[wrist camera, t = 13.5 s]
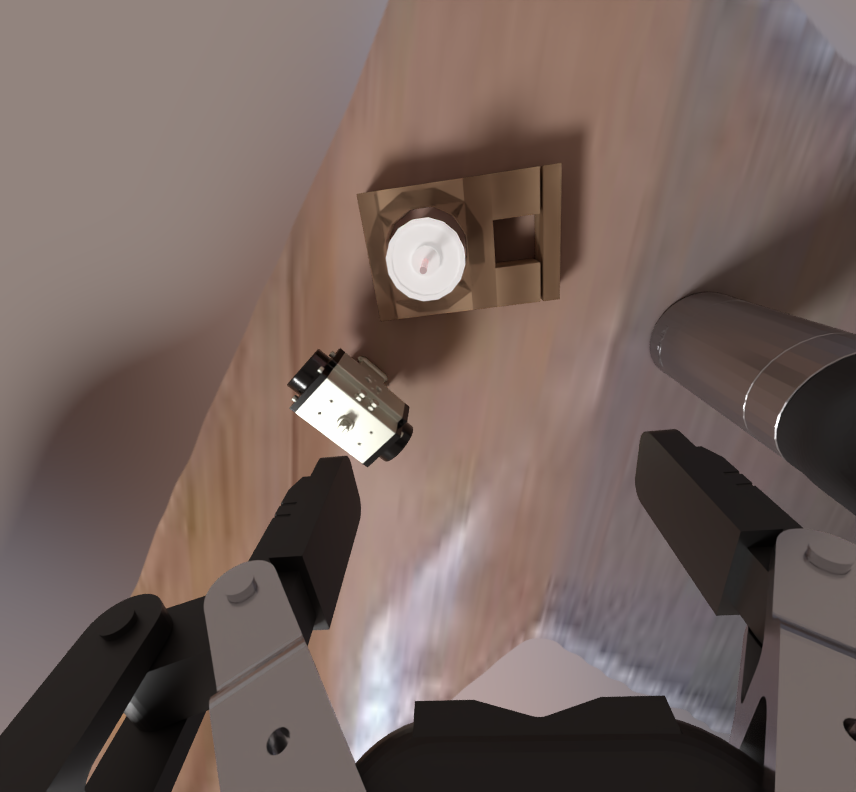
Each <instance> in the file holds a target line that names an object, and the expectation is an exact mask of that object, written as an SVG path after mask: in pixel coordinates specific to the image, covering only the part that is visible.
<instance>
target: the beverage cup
mask: <svg viewBox="0 0 856 792" xmlns="http://www.w3.org/2000/svg"><path fill="white" fill-rule="evenodd" d="M386 262H387V268H388V274H389V276H390V278H391V279H392V281H393V283H394V284H395V286H396V288H397V289H399V290H400V291H401V292H402V293H404V294H405V295H406V296H408V297H409V298H413V299H417V300H420V301H430V300H438V299H440V298H441V297H443V296H445V295H447V294H448V293H450V292H452V290H453V289H454V288H455V286H456V285H457V284H458V283H459V281H460V280H461V277H462V274H463V271H464V267H465V253H464V247H463V245H462V243H461V241H460V239H459V237H458V235H457V233H456V232H455V231H454V230H453V229H452V228H451V227H449V226H448V225H447V224H446V223H445V222H443V221H439V220H436V219H433V218H429V217H427V218H420V219H413V220H411V221H409V222H408V223H406V224H405V225H403V226H401V227H400V228H398V230H397V231H396V233H395V234H394V236H393V237H392V239H391V240H390V242H389V245H388V250H387V255H386Z"/></svg>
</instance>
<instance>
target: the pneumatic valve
mask: <svg viewBox="0 0 856 792" xmlns="http://www.w3.org/2000/svg"><path fill="white" fill-rule="evenodd" d="M329 356H330V357H331V358H329V357H328V356H327V355H326V354H325V353H323V352H322V351H321V350H320V349H318V350H317V351H316V352H315V353H314V354H313V355H312V357H311V358H310V359H309V360H308V361H307V362H306V363H305V365H304V366H303V367H302V368H301V369H300V370H299V371H298V373H297V374H296V375H295V376H294V377H293V378H292V379H291V381H290V382H289V383H288V384H287V386H288V387H290V388H291V389H292V390H294V391H295V392H296V393H297V394H299V396H296V395H295V396H294V397H293V398H292V399H291V400H292V401H294V403H293V404H292V406H291V407H290V409H291V410H292V411H294V412H295V413H296V414H298V415H299V416H300V417H302V418H303V419H304V420H305V421H307V422H308V423H309V424H311V425H312V426H313V427H315V428H316V429H317V430H319V431H320V432H321V433H323V434H324V435H325V436H327V437H328V438H329V439H331V440H332V441H333V442H335V443H336V444H337V445H339V446H340V447H341V448H343V449H344V450H345V451H346V452H348V453H349V454H350V455H352V456H353V457H354V458H356V459H357V460H358V461H360V462H361V463H362V464H364V465H365V466H366V467H368V466H370V465H371V464H372V463H373V462H374V461H375V460H376V459H377V458H378V457H380V458H381V459H383V460H384V461H390V460H392V459H393V458H394V457H396V456H397V455H398V454H399V453H400V452H401V451H402V450H403V448H404V447H405V446H406V444H407V443H408V441H409V440H410V438H411V436H412V433H413V427H412V426H411V425H410V424H409V423H407V419H408V413H409V406H408V405H407V404H405V403H404V402H403V401H402V400H401V399H400V398H398V397H397V396H396V395H395V394H394V393H392V392H391V391H390V390H389V389H388V388H387V387H386V386H385V385H384V384H383V383H384V382H386V381H387V379H388V378H386V376H387V375H386V374H385V373H383V372H382V371H381V370H380V369H379V368H378V367H376V366H375V365H374V364H373V363H372V362H371V361H369V360H368V359H367V358H366V357H362V356H361V357H360V356H359V357H358V361H359V362H360V363H358V362H357V361H356V360H354V359H353V358H351V357H350V356H349V355H348V354H347V353H345V352H344V351H343V350H342V349H341V348H340V349H338V350H337V352H336V353H334V352H333V351H332V352H331V353H330V354H329Z"/></svg>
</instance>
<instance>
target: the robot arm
mask: <svg viewBox="0 0 856 792" xmlns="http://www.w3.org/2000/svg"><path fill="white" fill-rule="evenodd" d="M650 353H651V357H652V359H653V361H654V363H655V365H656V366H657V367H658V368H659V369H660V370H662V371H663V372H664V373H666V374H667V375H668V376H670V377H671V378H673V379H674V380H675V381H677V382H678V383H679V384H681V385H682V386H683V387H685V388H686V389H687V390H689V391H690V392H692V393H693V394H694V395H696V396H697V397H698V398H700V399H701V400H703V401H704V402H705V403H707V404H708V405H710V406H711V407H712V408H714V409H715V410H716V411H718V412H719V413H721V414H722V415H723V416H725V417H726V418H727V419H729V420H730V421H732V422H733V423H734V424H736V425H737V426H739V427H740V428H741V429H743V430H744V431H745V432H747V433H748V434H750V435H751V436H752V437H754V438H755V439H757V440H758V441H759V442H761V443H762V444H764V445H765V446H766V447H768V448H769V449H771V450H772V451H773V452H775V453H776V454H777V455H779V456H780V457H782V458H783V459H784V460H786V461H787V462H789V463H790V464H791V465H792V466H794V467H795V468H797V469H798V470H799V471H801V472H802V473H803V474H805V475H806V476H807V477H808V478H809V479H810V480H811V481H812V482H813V483H814V484H815V485H816V486H818V487H819V488H820V489H821V490H822V491H824V492H825V493H826V494H828V495H829V496H830V497H832V498H833V499H834V500H836V501H837V502H838V503H840V504H841V505H842V506H844V507H845V508H846V509H848V510H849V511H850V512H852V513H853V514H854V515H856V334H853V333H850V332H847V331H843V330H840V329H837V328H833V327H830V326H827V325H823V324H820V323H817V322H813V321H810V320H807V319H803V318H800V317H797V316H793V315H790V314H787V313H783V312H780V311H777V310H773V309H770V308H767V307H763V306H760V305H757V304H753V303H751V302H747V301H744V300H740V299H737V298H734V297H730V296H727V295H724V294H720V293H714V292H704V293H697V294H694V295H691V296H688V297H686V298H684V299H682V300H680V301H678V302H677V303H675V304H674V305H673V306H671V307H670V308H669V309H668V310H667V311H666V312H665V313H664V314H663V315H662V316H661V318H660V319H659V320H658V322H657V323H656V325H655V327H654V329H653V332H652V335H651V339H650ZM635 486H636V492H637V495H638V498H639V500H640V502H641V504H642V505H643V507H644V508H645V510H646V511H647V513H648V514H649V516H650V517H651V519H652V520H653V522H654V523H655V525H656V526H657V528H658V529H659V531H660V532H661V534H662V535H663V537H664V538H665V540H666V541H667V543H668V544H669V546H670V547H671V549H672V550H673V552H674V553H675V555H676V556H677V558H678V559H679V561H680V562H681V564H682V565H683V567H684V568H685V570H686V571H687V573H688V574H689V576H690V577H691V578H692V580H693V581H694V583H695V584H696V586H697V587H698V589H699V590H700V592H701V593H702V595H703V596H704V598H705V599H706V601H707V602H708V604H709V605H710V607H711V608H712V610H713V611H714V613H715V614H716V616H718V615H741V617H742V618H743V620H744V621H745V622H746V624H747V626H746V629H745V632H744V636H743V645H742V654H741V663H740V672H739V680H738V689H737V698H736V707H735V715H734V721H733V726H732V730H731V734H730V738H729V742H726V741H725V740H723V739H721V738H719V737H717V736H715V735H713V734H711V733H709V732H707V731H705V730H703V729H701V728H699V727H696V726H694V725H691V724H689V723H686V722H683V721H680V720H676V719H675V717H674V715H673V713H672V711H671V708H670V706H669V704H668V702H667V699H666V697H665V696H628V697H600V698H597V699H594V700H591V701H588V702H586V703H582V704H580V705H577V706H574V707H571V708H568V709H565V710H562V711H559V712H557V713H554V714H551V715H548V716H545V717H534V716H529V715H526V714H522V713H519V712H515V711H512V710H508V709H504V708H501V707H497V706H494V705H490V704H487V703H483V702H479V701H476V700H447V701H415V709H414V722H413V723H410V724H407V725H405V726H403V727H401V728H399V729H397V730H395V731H393V732H391V733H390V734H388V735H387V736H385V737H384V738H382V739H381V740H380V741H378V742H377V743H376V744H375V745H373V746H372V747H371V748H370V749H369V750H368V751H367V752H366V753H364V755H363V756H362V757H361V758H360V759H359V760H358V761H357V762H356V763H355V761H354V758H353V756H352V754H351V751H350V749H349V746H348V744H347V741H346V739H345V737H344V734H343V732H342V729H341V727H340V724H339V722H338V720H337V717H336V715H335V712H334V710H333V707H332V705H331V702H330V700H329V698H328V695H327V693H326V690H325V688H324V685H323V683H322V681H321V678H320V676H319V673H318V671H317V668H316V666H315V663H314V661H313V659H312V656H311V654H310V651H309V649H308V643H309V640H310V637H311V633H312V630H327V629H329V628H330V625H331V621H332V618H333V614H334V611H335V607H336V603H337V600H338V596H339V593H340V589H341V586H342V582H343V578H344V575H345V571H346V568H347V564H348V561H349V557H350V554H351V550H352V546H353V543H354V539H355V536H356V532H357V529H358V525H359V521H360V516H361V503H360V497H359V493H358V489H357V485H356V481H355V477H354V474H353V470H352V466H351V462H350V459H349V458H348V456H337V457H325V458H320V459H319V461H318V462H317V464H316V466H315V468H314V470H313V472H312V474H311V476H308V477H302V478H301V479H300V480H299V481H298V482H297V483H296V484H295V485H293V486H292V487H291V488H290V489H289V490H288V492H287V494H286V496H285V497H284V499H283V501H282V503H281V506H279V508H278V510H277V512H276V513H275V518H273V519H272V520H271V522H270V524H269V526H268V527H267V529H266V531H265V533H264V535H263V536H262V538H261V540H260V542H259V543H258V545H257V547H256V549H255V550H254V552H253V554H252V556H251V557H250V559H249V561H248V562H245V563H242V564H240V565H238V566H235V567H234V568H232V569H230V570H229V571H227V572H226V573H224V574H223V575H222V576H221V577H220V578H218V579H217V581H216V582H215V583H214V584H213V585H212V586H211V588H210V589H209V591H208V593H207V595H206V596H203V597H200V598H197V599H194V600H191V601H188V602H185V603H182V604H179V605H176V606H173V607H170V608H167V609H166V608H165V606H164V604H163V603H162V601H161V600H160V598H159V597H158V596H156V595H153V594H142V595H137V596H134V597H131V598H128V599H126V600H124V601H122V602H120V603H118V604H116V605H114V606H113V607H111V608H110V609H108V610H107V611H105V612H104V613H103V614H101V615H100V616H99V617H98V618H97V619H96V620H95V621H94V622H92V623H91V624H90V626H89V627H88V628H87V629H86V630H85V631H84V633H83V634H82V635H81V636H80V638H79V639H78V640H77V641H76V643H75V644H74V645H73V646H72V647H71V649H70V650H69V651H68V652H67V654H66V655H65V656H64V657H63V659H62V660H61V661H60V662H59V664H58V665H57V666H56V667H55V668H54V670H53V671H52V672H51V673H50V675H49V676H48V677H47V678H46V680H45V681H44V682H43V683H42V685H41V686H40V687H39V688H38V690H37V691H36V692H35V693H34V695H33V696H32V697H31V698H30V699H29V701H28V702H27V703H26V704H25V706H24V707H23V708H22V709H21V711H20V712H19V713H18V714H17V715H16V717H15V718H14V719H13V721H12V722H11V723H10V724H9V725H8V727H7V728H6V729H5V730H4V732H3V733H2V734H1V735H0V792H171V791H172V789H173V786H174V784H175V782H176V780H177V777H178V775H179V773H180V770H181V768H182V766H183V763H184V761H185V759H186V756H187V754H188V752H189V749H190V747H191V745H192V743H193V740H194V738H195V736H196V733H197V731H198V729H199V726H200V724H201V722H202V719H203V717H204V715H205V713H206V711H207V710H209V712H210V720H211V727H212V734H213V742H214V749H215V756H216V763H217V771H218V778H219V785H220V792H856V545H855V544H853V543H851V542H849V541H847V540H845V539H843V538H840V537H838V536H835V535H832V534H829V533H826V532H822V531H818V530H812V529H804V528H802V527H801V526H800V525H799V524H798V523H797V522H796V521H795V520H793V519H792V518H791V517H790V516H789V515H788V514H787V513H786V512H784V511H783V510H782V509H781V508H780V507H779V506H778V505H776V504H775V503H774V502H773V501H772V500H771V499H770V498H769V497H767V496H766V495H765V494H764V493H763V492H762V491H761V490H760V489H758V488H757V487H756V486H753V485H752V482H751V481H749V480H748V479H747V478H746V477H745V476H744V475H743V474H739V471H738V470H737V469H736V468H735V467H734V466H732V465H731V464H730V463H729V462H728V461H727V460H726V459H725V458H723V457H722V456H720V455H718V454H716V453H714V452H712V451H710V450H708V449H706V448H704V447H702V446H700V447H696V446H695V445H694V444H692V443H691V442H690V441H689V440H688V439H687V438H686V437H685V436H684V435H683V434H682V433H681V432H680V431H678V430H676V429H671V430H659V431H647V432H644V433H643V434H642V435H641V438H640V444H639V452H638V460H637V468H636V476H635ZM123 713H125V714H126V718H125V720H124V721H123V723H122V725H121V726H120V728H119V730H118V732H117V733H116V735H115V737H114V738H113V740H112V742H111V743H110V745H109V747H108V749H107V750H106V752H105V754H104V755H103V757H102V759H101V761H100V762H99V764H98V766H97V767H96V769H95V771H94V772H93V774H92V776H91V778H90V779H89V781H88V783H87V784H86V781H87V777H88V774H89V772H90V769H91V767H92V765H93V763H94V761H95V759H96V758H97V756H98V754H99V753H100V751H101V749H102V748H103V746H104V744H105V743H106V741H107V739H108V738H109V736H110V734H111V733H112V731H113V729H114V728H115V726H116V724H117V723H118V721H119V719H120V718H121V716H122V714H123Z"/></svg>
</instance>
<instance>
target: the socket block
mask: <svg viewBox="0 0 856 792" xmlns="http://www.w3.org/2000/svg"><path fill="white" fill-rule="evenodd" d="M561 178H562V163H557V164H551V165H544V166H541V167H540V166H538V167H531V168H524V169H518V170H511V171H505V172H498V173H491V174H485V175H478V176H472V177H465V178H459V179H452V180H445V181H439V182H432V183H426V184H419V185H412V186H406V187H399V188H393V189H386V190H380V191H373V192H366V193H360V194H357V199H358V204H359V210H360V215H361V220H362V226H363V231H364V236H365V242H366V247H367V252H368V258H369V263H370V268H371V274H372V279H373V284H374V290H375V295H376V300H377V306H378V311H379V316H380V321H387V320H395V319H403V318H411V317H419V316H427V315H435V314H443V313H451V312H459V311H468V310H476V309H484V308H492V307H500V306H508V305H516V304H524V303H532V302H540V298H541V299H542V300H543V301H548V300H556V299H560V241H561ZM426 207H435V208H437V209H439V210H441V211H444V212H446V213H448V214H450V215H452V216H453V217H454V219H455V220H456V222H457V223H458V225H459V226H460V228H461V229H462V231H463V232H464V234H465V243H466V255H467V256H466V259H465V267H464V271H463V274H462V277H461V280H460V281H459V283H458V284H457V285H456V286H455V288H454V289H453V290H452V292H450V293H448V294H447V295H445V296H443V297H441V298H440V299H438V300H430V301H420V300H417V299H413V298H409V297H408V296H406V295H405V294H404V293H402V292H401V291H400V290H399V289H397V288H396V286H395V284H394V283H393V281H392V279H391V278H390V276H389V274H388V268H387V262H386V255H387V250H388V245H389V242H390V237H391V234H392V231H393V228H394V225H395V223H397V222H398V221H399V220H400V219H401V218H402V217H403V216H405V215H406V214H407V213H408V212H409V211H410V210H412V209H419V208H426ZM533 214H535V259H533V258H528V259H521V260H513V261H506V262H498V263H495V252H494V233H493V220H497V219H504V218H511V217H519V216H526V215H533Z"/></svg>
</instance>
